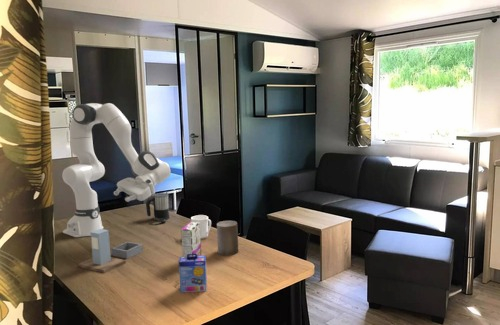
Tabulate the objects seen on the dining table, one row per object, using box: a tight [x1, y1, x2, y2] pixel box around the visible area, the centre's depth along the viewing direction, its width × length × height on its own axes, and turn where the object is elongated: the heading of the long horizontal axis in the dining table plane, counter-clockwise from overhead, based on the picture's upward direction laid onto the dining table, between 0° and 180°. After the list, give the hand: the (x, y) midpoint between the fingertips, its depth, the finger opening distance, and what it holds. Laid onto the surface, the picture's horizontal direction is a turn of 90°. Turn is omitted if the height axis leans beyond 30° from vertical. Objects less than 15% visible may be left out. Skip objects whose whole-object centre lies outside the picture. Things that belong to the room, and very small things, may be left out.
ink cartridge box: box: [178, 253, 208, 293], centre depth 152 cm, size 10×6×14 cm, turn 95°
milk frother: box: [145, 192, 170, 224], centre depth 246 cm, size 14×16×15 cm
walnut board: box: [78, 256, 127, 274], centre depth 179 cm, size 16×12×1 cm
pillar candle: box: [216, 220, 240, 256], centre depth 190 cm, size 10×10×15 cm
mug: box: [190, 214, 212, 240], centre depth 213 cm, size 11×9×10 cm
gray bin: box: [111, 241, 144, 260], centre depth 192 cm, size 10×10×4 cm
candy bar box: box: [180, 221, 202, 257], centre depth 179 cm, size 11×5×16 cm, turn 168°
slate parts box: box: [90, 228, 112, 265], centre depth 178 cm, size 5×6×14 cm
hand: (120, 197), depth 195 cm, fingers open, 8 cm apart
